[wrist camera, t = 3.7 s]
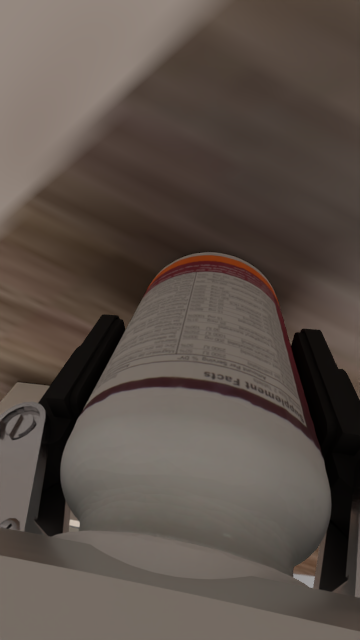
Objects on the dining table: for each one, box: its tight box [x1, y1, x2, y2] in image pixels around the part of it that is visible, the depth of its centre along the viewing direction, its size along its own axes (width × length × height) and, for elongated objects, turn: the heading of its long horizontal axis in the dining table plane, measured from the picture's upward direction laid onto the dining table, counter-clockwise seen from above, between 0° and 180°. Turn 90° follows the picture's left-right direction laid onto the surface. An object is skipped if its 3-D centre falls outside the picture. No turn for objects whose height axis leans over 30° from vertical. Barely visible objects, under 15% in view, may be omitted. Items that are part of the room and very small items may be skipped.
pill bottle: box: [52, 252, 332, 587], centre depth 8 cm, size 6×6×11 cm
